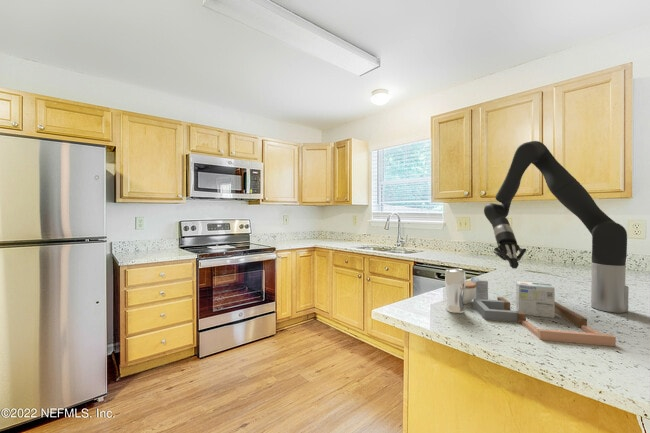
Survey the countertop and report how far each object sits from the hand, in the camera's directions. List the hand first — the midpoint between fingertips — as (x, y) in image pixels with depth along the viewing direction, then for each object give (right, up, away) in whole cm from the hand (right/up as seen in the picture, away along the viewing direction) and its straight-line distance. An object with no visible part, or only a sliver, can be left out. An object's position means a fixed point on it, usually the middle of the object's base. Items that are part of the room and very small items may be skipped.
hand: (515, 267), depth 121 cm
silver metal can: (-32, -14, -14) cm, 37 cm away
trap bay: (-18, -14, -17) cm, 28 cm away
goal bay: (-8, -14, -34) cm, 38 cm away
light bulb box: (-4, -14, -16) cm, 22 cm away
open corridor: (-4, -14, -18) cm, 23 cm away
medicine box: (-15, -14, 0) cm, 20 cm away
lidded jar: (-24, -14, -3) cm, 28 cm away
